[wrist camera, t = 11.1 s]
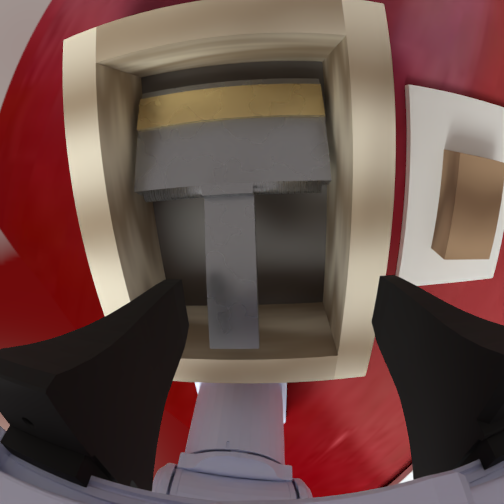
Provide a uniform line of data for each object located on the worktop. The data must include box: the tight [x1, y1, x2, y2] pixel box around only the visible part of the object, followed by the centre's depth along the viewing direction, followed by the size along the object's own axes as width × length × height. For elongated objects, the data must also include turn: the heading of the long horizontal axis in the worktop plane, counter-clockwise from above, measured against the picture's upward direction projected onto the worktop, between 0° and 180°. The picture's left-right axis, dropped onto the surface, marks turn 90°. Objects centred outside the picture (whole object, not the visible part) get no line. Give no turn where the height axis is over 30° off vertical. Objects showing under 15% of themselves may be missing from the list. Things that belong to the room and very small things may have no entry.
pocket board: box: [63, 0, 396, 383], centre depth 16 cm, size 20×15×6 cm
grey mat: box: [395, 84, 504, 286], centre depth 17 cm, size 14×10×1 cm
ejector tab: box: [134, 78, 331, 349], centre depth 15 cm, size 14×10×2 cm
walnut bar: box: [431, 149, 504, 260], centre depth 16 cm, size 7×4×2 cm, turn 1°
